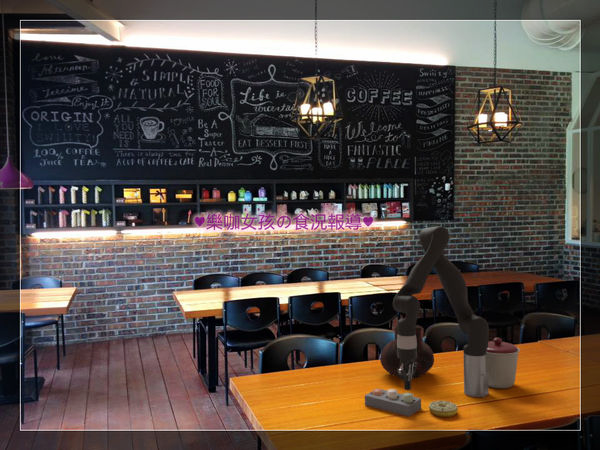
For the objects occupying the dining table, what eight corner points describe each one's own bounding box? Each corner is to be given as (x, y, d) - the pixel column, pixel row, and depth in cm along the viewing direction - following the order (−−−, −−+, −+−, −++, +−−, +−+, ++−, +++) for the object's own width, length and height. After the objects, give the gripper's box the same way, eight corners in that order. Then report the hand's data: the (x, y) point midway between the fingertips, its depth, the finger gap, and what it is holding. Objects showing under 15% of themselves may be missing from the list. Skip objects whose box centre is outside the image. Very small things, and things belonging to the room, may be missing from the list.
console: (421, 408, 209) (421, 398, 209) (409, 416, 201) (408, 406, 201) (377, 397, 222) (377, 388, 222) (364, 405, 214) (364, 395, 214)
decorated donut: (443, 406, 211) (443, 396, 211) (463, 415, 202) (463, 405, 202) (423, 411, 207) (423, 401, 206) (442, 420, 197) (442, 411, 197)
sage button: (415, 404, 207) (415, 394, 207) (410, 407, 204) (410, 397, 204) (406, 402, 210) (406, 392, 210) (401, 405, 207) (401, 395, 207)
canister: (524, 393, 222) (523, 343, 222) (479, 391, 226) (478, 342, 225) (515, 378, 240) (515, 333, 239) (474, 377, 244) (473, 332, 243)
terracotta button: (384, 400, 216) (384, 390, 216) (379, 403, 213) (379, 393, 213) (376, 398, 219) (375, 388, 219) (370, 401, 216) (370, 391, 216)
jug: (430, 367, 261) (429, 317, 260) (438, 384, 236) (437, 329, 235) (379, 366, 263) (378, 317, 263) (382, 384, 238) (380, 329, 238)
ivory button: (399, 400, 212) (399, 390, 212) (394, 403, 209) (394, 393, 209) (390, 398, 214) (390, 388, 214) (385, 401, 211) (385, 391, 211)
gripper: (407, 351, 199) (408, 396, 199) (423, 343, 209) (424, 386, 210) (389, 348, 204) (390, 392, 204) (406, 340, 214) (407, 382, 214)
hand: (407, 389), depth 207 cm, fingers closed
